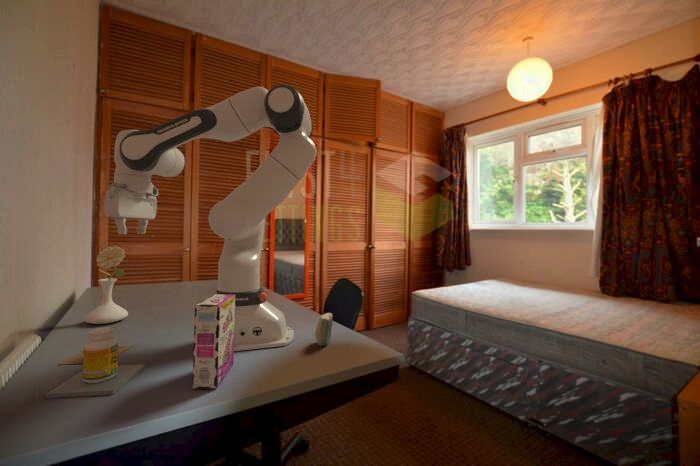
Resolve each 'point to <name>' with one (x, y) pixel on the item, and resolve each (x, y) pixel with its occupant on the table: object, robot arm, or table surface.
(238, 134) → the robot arm
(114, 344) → the supplement bottle
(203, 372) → the candy bar box
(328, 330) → the beige upright rounded block
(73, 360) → the tile
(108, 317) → the flower in vase
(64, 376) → the table surface
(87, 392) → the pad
